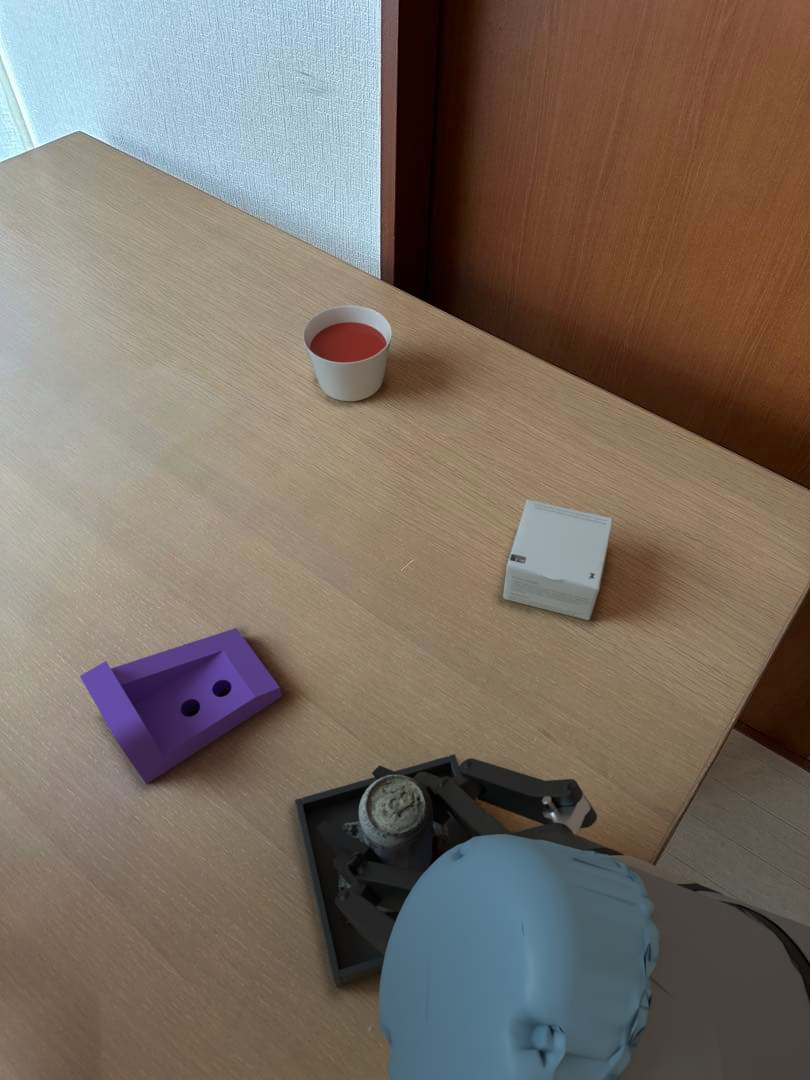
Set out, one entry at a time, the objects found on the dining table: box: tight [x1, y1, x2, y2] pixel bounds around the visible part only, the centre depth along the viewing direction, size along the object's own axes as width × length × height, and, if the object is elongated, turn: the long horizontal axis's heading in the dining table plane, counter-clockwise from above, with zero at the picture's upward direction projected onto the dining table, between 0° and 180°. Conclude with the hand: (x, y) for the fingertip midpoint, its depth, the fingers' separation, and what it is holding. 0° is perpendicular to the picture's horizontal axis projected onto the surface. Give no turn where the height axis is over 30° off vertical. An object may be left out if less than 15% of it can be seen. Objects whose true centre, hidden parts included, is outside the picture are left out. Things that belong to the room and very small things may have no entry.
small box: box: [502, 499, 614, 621], centre depth 71 cm, size 8×8×5 cm
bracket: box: [79, 627, 283, 785], centre depth 64 cm, size 12×7×7 cm, turn 127°
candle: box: [302, 304, 393, 402], centre depth 86 cm, size 9×9×6 cm
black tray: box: [294, 754, 473, 988], centre depth 58 cm, size 12×12×3 cm
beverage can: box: [337, 774, 452, 924], centre depth 53 cm, size 9×8×12 cm
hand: (359, 810), depth 56 cm, fingers closed on beverage can, 4 cm apart
